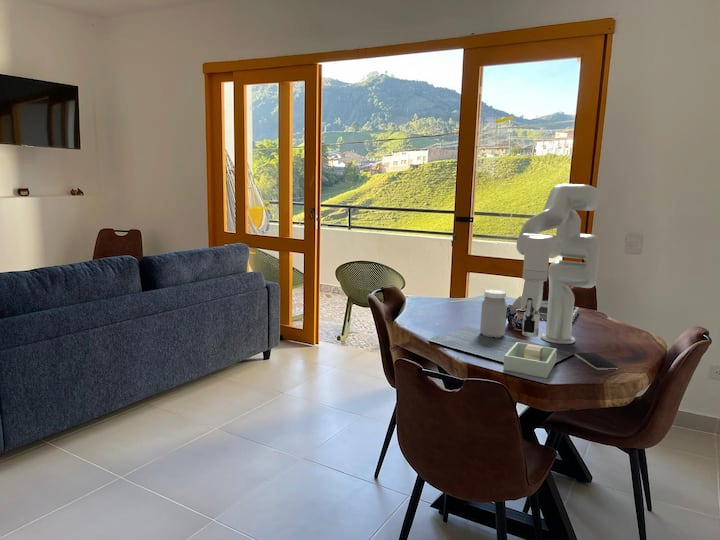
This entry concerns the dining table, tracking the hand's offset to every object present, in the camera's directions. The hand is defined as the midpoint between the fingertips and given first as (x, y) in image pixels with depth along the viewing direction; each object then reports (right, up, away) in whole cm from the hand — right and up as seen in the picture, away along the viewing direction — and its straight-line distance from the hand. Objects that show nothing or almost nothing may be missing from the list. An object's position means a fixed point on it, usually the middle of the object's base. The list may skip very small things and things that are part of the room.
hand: (530, 329), depth 170 cm
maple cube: (+4, -12, +10) cm, 16 cm away
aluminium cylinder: (0, -2, 0) cm, 2 cm away
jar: (-2, -7, +42) cm, 43 cm away
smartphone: (+27, -13, +12) cm, 32 cm away
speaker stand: (+34, -2, +77) cm, 84 cm away
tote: (+2, -13, +6) cm, 15 cm away
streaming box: (+36, -2, +78) cm, 86 cm away
